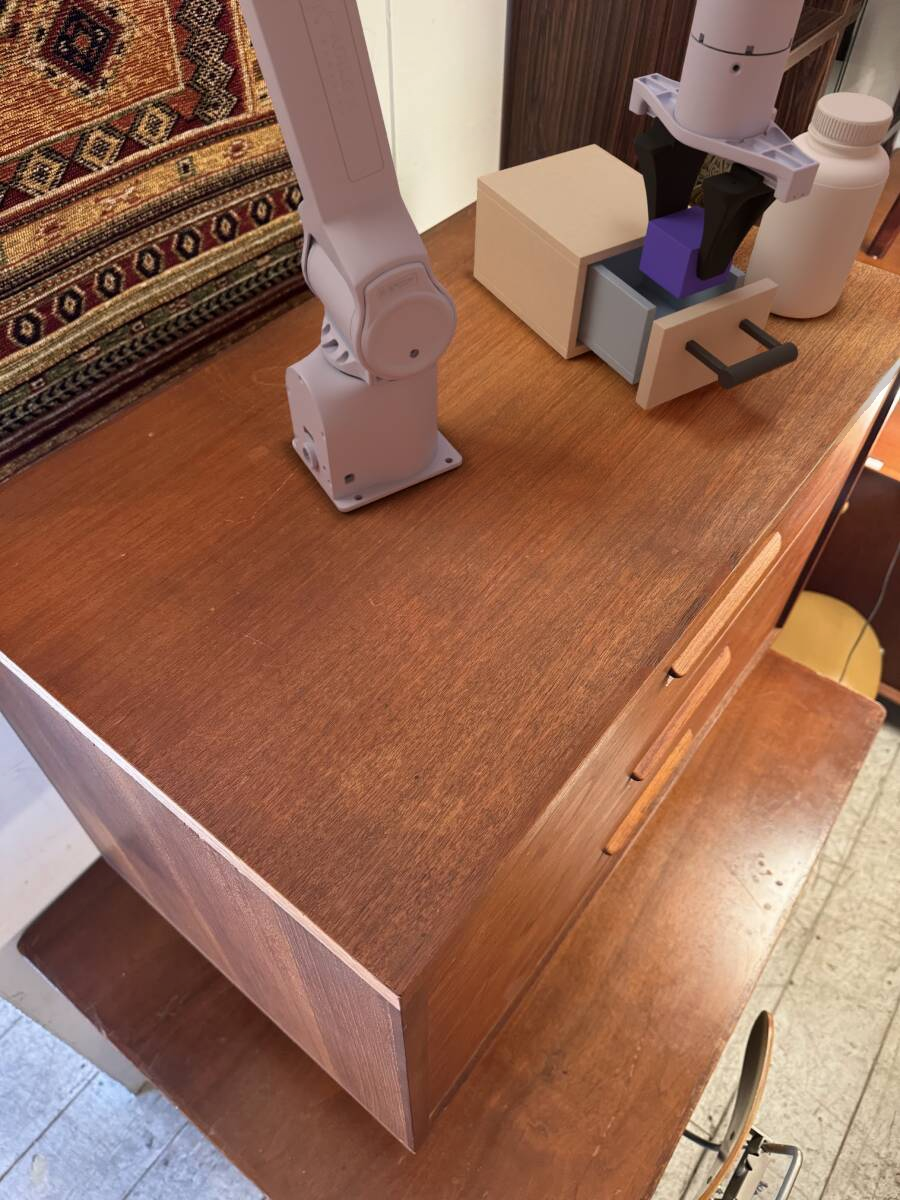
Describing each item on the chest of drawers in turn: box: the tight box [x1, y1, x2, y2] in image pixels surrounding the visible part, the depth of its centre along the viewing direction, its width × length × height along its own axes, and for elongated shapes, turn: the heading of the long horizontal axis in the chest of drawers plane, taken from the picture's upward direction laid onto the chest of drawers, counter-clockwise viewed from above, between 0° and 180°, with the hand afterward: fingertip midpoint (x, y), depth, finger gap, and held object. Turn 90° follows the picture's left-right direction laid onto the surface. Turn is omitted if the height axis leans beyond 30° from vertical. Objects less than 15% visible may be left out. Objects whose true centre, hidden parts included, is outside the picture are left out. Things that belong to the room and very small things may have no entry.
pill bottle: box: [743, 91, 894, 319], centre depth 68 cm, size 8×8×15 cm
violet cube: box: [639, 206, 735, 299], centre depth 60 cm, size 4×4×4 cm
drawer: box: [577, 246, 799, 411], centre depth 63 cm, size 17×10×7 cm, turn 31°
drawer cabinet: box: [473, 143, 691, 361], centre depth 70 cm, size 14×12×9 cm
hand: (686, 257), depth 60 cm, fingers closed on violet cube, 4 cm apart
